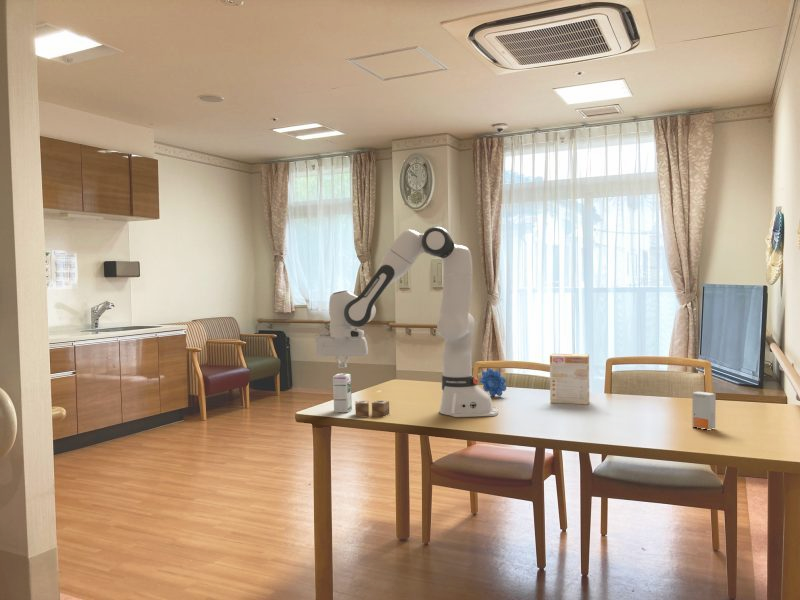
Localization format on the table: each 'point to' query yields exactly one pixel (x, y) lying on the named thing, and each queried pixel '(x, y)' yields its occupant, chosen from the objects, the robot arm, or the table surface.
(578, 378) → the coffeecake box
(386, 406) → the walnut block two
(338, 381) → the syrup box
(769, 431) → the table surface
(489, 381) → the blue gear wheel
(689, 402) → the table surface
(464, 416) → the robot arm
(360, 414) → the walnut block one
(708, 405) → the skincare box
